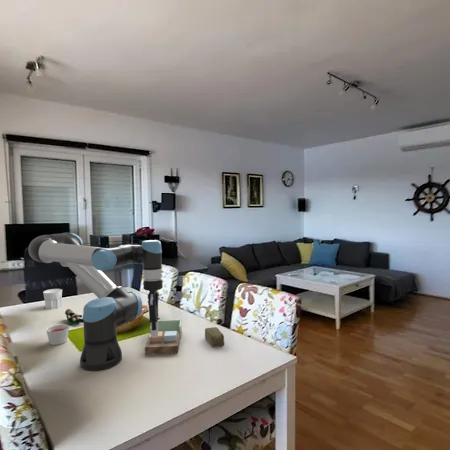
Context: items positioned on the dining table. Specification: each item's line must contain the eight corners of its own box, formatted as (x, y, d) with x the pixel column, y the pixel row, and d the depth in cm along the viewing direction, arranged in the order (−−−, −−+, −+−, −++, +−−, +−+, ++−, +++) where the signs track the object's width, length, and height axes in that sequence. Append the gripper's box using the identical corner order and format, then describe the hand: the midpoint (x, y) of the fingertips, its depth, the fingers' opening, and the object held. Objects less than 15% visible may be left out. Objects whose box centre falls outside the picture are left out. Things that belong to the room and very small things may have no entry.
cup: (51, 304, 202) (50, 288, 202) (66, 305, 201) (65, 289, 200) (40, 309, 192) (39, 292, 192) (55, 310, 191) (55, 293, 190)
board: (145, 354, 131) (145, 347, 131) (150, 340, 145) (150, 333, 145) (178, 353, 132) (177, 345, 132) (180, 339, 146) (179, 332, 146)
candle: (43, 342, 145) (43, 328, 144) (64, 336, 151) (64, 323, 151) (51, 348, 138) (50, 333, 138) (73, 341, 145) (72, 327, 145)
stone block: (212, 348, 137) (211, 336, 136) (204, 338, 147) (204, 327, 147) (225, 346, 139) (224, 334, 138) (216, 336, 149) (216, 325, 149)
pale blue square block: (164, 341, 136) (164, 335, 136) (165, 336, 141) (165, 331, 141) (176, 340, 137) (176, 335, 137) (177, 336, 142) (176, 330, 142)
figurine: (72, 321, 162) (59, 309, 171) (72, 331, 163) (59, 319, 172) (88, 317, 168) (74, 306, 177) (87, 327, 169) (74, 315, 178)
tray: (150, 340, 145) (149, 327, 145) (152, 332, 154) (152, 320, 154) (180, 338, 147) (180, 326, 146) (181, 331, 156) (181, 319, 155)
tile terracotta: (149, 342, 136) (149, 336, 136) (151, 337, 141) (151, 331, 141) (161, 341, 136) (161, 335, 136) (163, 336, 141) (162, 331, 141)
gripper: (160, 282, 124) (162, 343, 126) (164, 275, 137) (165, 330, 139) (140, 283, 124) (142, 344, 125) (145, 276, 137) (147, 331, 138)
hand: (154, 336), depth 132 cm, fingers closed
